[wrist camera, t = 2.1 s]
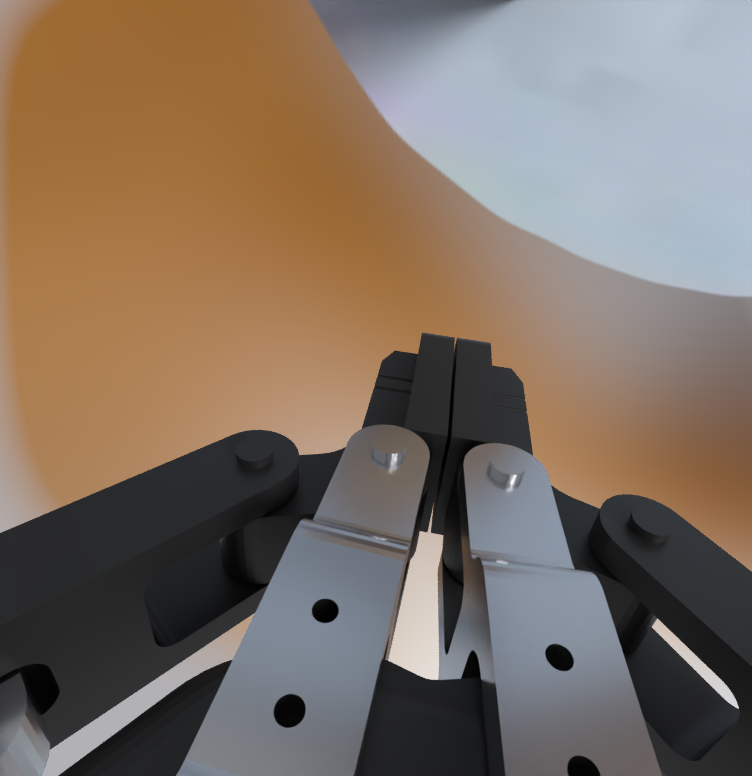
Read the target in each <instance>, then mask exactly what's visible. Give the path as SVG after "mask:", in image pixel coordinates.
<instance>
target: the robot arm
mask: <svg viewBox="0 0 752 776" xmlns="http://www.w3.org/2000/svg"><path fill="white" fill-rule="evenodd" d="M454 339H455V338H454V337H448V336H441V335H435V334H428V333H422V336H421V341H420V347H419V353H418V354H413V353H407V352H400V351H394V352H393V353H391V354H390V355H389V356H388V357H386V358H385V359H384V360H383V361H382V363H381V366H380V369H379V373H378V377H377V380H376V383H375V387H374V390H373V393H372V397H371V400H370V403H369V406H368V410H367V413H366V416H365V420H364V423H363V426H362V429H361V430H359V431H358V432H356V433H355V434H354V435H353V436H352V437H351V438H350V440H349V441H348V443H347V446H346V447H345V448H343V449H340V450H338V451H335V452H331V453H324V454H313V455H299V453H298V449H297V447H296V446H295V444H294V443H293V442H292V441H291V440H289V439H288V438H287V437H285V436H283V435H281V434H278V433H276V432H272V431H265V430H250V431H244V432H240V433H237V434H234V435H231V436H229V437H226V438H224V439H222V440H219V441H217V442H215V443H212V444H210V445H207V446H205V447H203V448H200V449H198V450H196V451H193V452H191V453H189V454H186V455H184V456H181V457H180V458H177V459H174V460H172V461H170V462H167V463H165V464H163V465H160V466H158V467H155V468H153V469H151V470H148V471H146V472H144V473H142V474H139V475H137V476H134V477H132V478H129V479H127V480H125V481H122V482H120V483H118V484H115V485H113V486H111V487H108V488H106V489H103V490H101V491H99V492H96V493H94V494H92V495H89V496H87V497H85V498H82V499H80V500H78V501H75V502H73V503H71V504H68V505H66V506H63V507H61V508H58V509H56V510H54V511H51V512H49V513H47V514H44V515H42V516H40V517H38V518H35V519H33V520H30V521H28V522H25V523H23V524H21V525H18V526H16V527H14V528H11V529H9V530H7V531H4V532H2V533H0V776H41V775H42V773H43V771H44V769H45V766H46V763H47V760H48V757H49V750H50V749H51V748H53V747H55V746H56V745H58V744H59V743H60V742H62V741H64V740H65V739H66V738H68V737H70V736H71V735H72V734H74V733H75V732H77V731H78V730H80V729H81V728H83V727H84V726H86V725H87V724H89V723H90V722H92V721H93V720H95V719H96V718H98V717H99V716H101V715H102V714H104V713H105V712H107V711H108V710H110V709H111V708H113V707H114V706H116V705H117V704H119V703H120V702H122V701H123V700H125V699H126V698H128V697H129V696H131V695H132V694H134V693H135V692H137V691H138V690H140V689H141V688H143V687H144V686H146V685H147V684H149V683H150V682H152V681H153V680H155V679H156V678H158V677H159V676H161V675H162V674H164V673H165V672H167V671H168V670H170V669H171V668H173V667H174V666H176V665H177V664H179V663H180V662H182V661H183V660H185V659H186V658H188V657H189V656H191V655H192V654H194V653H195V652H197V651H198V650H200V649H201V648H203V647H204V646H206V645H207V644H209V643H210V642H212V641H213V640H214V639H216V638H218V637H219V636H221V635H222V634H223V633H225V632H227V631H228V630H230V629H231V628H233V627H234V626H236V625H237V624H239V623H240V622H242V621H243V620H245V619H246V618H248V617H249V616H250V615H252V614H254V613H255V614H254V616H253V618H252V621H251V623H250V625H249V627H248V629H247V631H246V633H245V635H244V638H243V639H242V641H241V644H240V646H239V648H238V650H237V652H236V654H235V656H234V658H233V660H230V661H227V662H224V663H222V664H219V665H217V666H215V667H213V668H210V669H208V670H206V671H204V672H202V673H200V674H199V675H197V676H195V677H193V678H192V679H190V680H188V681H186V682H185V683H184V684H182V685H181V686H179V687H178V688H176V689H175V690H173V691H172V692H171V693H169V694H168V695H167V696H165V697H164V698H163V699H161V700H160V701H159V702H157V703H156V704H155V705H153V706H152V707H150V708H149V709H148V710H146V711H145V712H144V713H142V714H141V715H140V716H138V717H137V718H136V719H134V720H133V721H132V722H130V723H129V724H128V725H127V726H125V727H124V728H122V729H121V730H119V731H118V732H117V733H116V734H114V735H113V736H111V737H110V738H109V739H107V740H106V741H105V742H103V743H102V744H101V745H99V746H98V747H97V748H95V749H94V750H92V751H91V752H90V753H88V754H87V755H86V756H84V757H83V758H82V759H80V760H79V761H78V762H76V763H75V764H74V765H72V766H71V767H69V768H68V769H67V770H65V771H64V772H63V773H61V774H60V775H59V776H752V572H751V571H750V570H749V569H747V568H746V567H745V566H744V565H742V564H741V563H740V562H738V561H737V560H736V559H735V558H733V557H732V556H731V555H729V554H728V553H727V552H726V551H724V550H723V549H722V548H720V547H719V546H718V545H717V544H715V543H714V542H713V541H711V540H710V539H709V538H708V537H706V536H705V535H704V534H702V533H701V532H700V531H699V530H697V529H696V528H694V527H693V526H692V525H691V524H689V523H688V522H687V521H686V520H684V519H683V518H682V517H680V516H679V515H678V514H677V513H675V512H674V511H672V510H671V509H669V508H668V507H666V506H664V505H663V504H661V503H658V502H656V501H654V500H651V499H648V498H645V497H642V496H637V495H624V494H623V495H616V496H613V497H611V498H609V499H607V500H606V501H605V502H604V503H603V505H602V506H601V508H600V509H599V508H596V507H594V506H591V505H589V504H586V503H584V502H582V501H579V500H576V499H574V498H572V497H570V496H568V495H566V494H564V493H562V492H560V491H559V490H557V489H556V488H554V487H553V486H552V485H551V484H550V480H549V476H548V474H547V471H546V469H545V468H544V466H543V465H542V464H541V463H540V462H539V461H538V460H537V459H536V458H535V457H534V456H533V453H532V445H531V438H530V431H529V424H528V416H527V413H526V411H527V409H526V402H525V394H524V387H523V383H522V381H521V380H520V379H519V378H518V376H517V375H516V374H515V373H514V371H513V370H512V369H510V368H504V367H497V366H492V358H491V344H490V343H487V342H481V341H475V340H468V339H461V338H457V340H456V345H455V349H454ZM433 503H434V505H433ZM432 507H433V516H432V527H431V533H435V534H441V535H444V537H443V550H442V554H441V558H440V563H439V566H438V615H439V616H438V617H439V679H438V680H430V679H425V678H423V677H420V676H418V675H416V674H414V673H412V672H410V671H408V670H406V669H404V668H402V667H400V666H398V665H396V664H393V663H392V662H389V661H388V658H389V654H390V649H391V645H392V640H393V636H394V631H395V627H396V623H397V618H398V614H399V609H400V605H401V600H402V596H403V591H404V586H405V582H406V578H407V574H408V569H409V564H410V560H411V558H412V557H413V555H414V553H415V551H416V547H417V542H418V537H419V532H420V531H423V532H427V531H428V527H429V522H430V517H431V513H432ZM657 618H658V619H659V620H660V621H661V622H662V623H663V624H664V625H665V626H666V627H667V628H668V629H669V630H670V631H671V632H673V633H674V634H675V635H676V636H677V637H678V638H679V639H680V640H681V641H682V642H683V643H684V644H685V645H686V646H687V647H688V648H689V649H690V650H691V651H692V652H693V653H694V654H695V655H696V656H697V657H698V658H699V659H700V660H701V661H703V662H704V663H705V664H706V665H707V666H708V667H709V668H710V669H711V670H712V671H713V672H714V673H715V674H716V675H717V676H718V677H719V678H720V679H721V680H722V681H724V683H725V684H726V685H727V686H728V687H729V689H730V690H731V692H732V693H733V695H734V697H735V699H736V701H737V703H738V706H739V709H737V708H735V707H734V706H732V705H731V704H729V703H728V702H727V701H726V700H725V699H724V698H722V697H721V695H720V694H718V693H717V692H716V691H715V690H714V689H713V688H712V687H711V686H710V685H709V684H708V683H707V682H706V681H705V680H704V679H703V678H702V677H701V676H700V675H699V674H698V673H697V672H696V671H695V670H694V669H693V668H692V667H691V666H690V665H689V664H688V663H687V662H686V661H685V660H684V659H683V658H682V657H681V656H680V655H679V654H678V653H677V652H676V651H675V650H674V649H673V648H672V647H671V646H670V645H669V644H668V643H667V642H666V641H665V640H664V639H663V638H662V637H661V636H660V635H659V634H658V633H657V632H656V631H655V630H654V629H653V628H652V625H653V624H654V622H655V621H656V619H657Z"/></svg>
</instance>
